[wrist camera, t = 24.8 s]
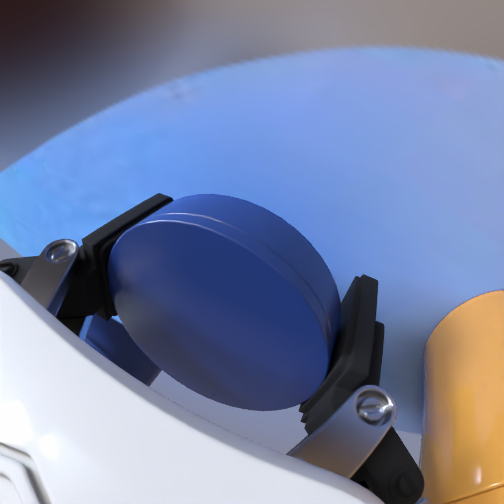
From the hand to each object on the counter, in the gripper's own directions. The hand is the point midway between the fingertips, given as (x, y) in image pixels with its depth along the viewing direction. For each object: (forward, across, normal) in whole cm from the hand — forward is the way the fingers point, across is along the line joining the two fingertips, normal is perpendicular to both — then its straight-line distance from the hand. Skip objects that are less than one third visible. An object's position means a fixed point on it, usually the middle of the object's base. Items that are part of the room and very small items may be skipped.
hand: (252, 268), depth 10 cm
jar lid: (-3, 0, 0) cm, 3 cm away
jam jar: (+1, -11, 0) cm, 11 cm away
